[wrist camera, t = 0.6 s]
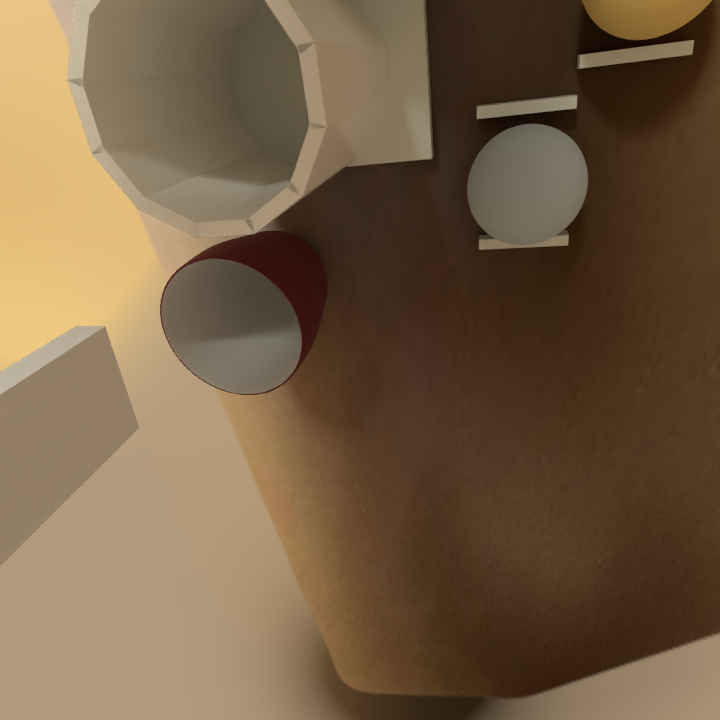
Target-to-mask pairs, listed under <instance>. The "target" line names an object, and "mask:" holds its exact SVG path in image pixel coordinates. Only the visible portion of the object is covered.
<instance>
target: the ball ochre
mask: <svg viewBox="0 0 720 720" xmlns="http://www.w3.org/2000/svg"><path fill="white" fill-rule="evenodd" d="M711 1H712V0H582V2H583V5H584V7H585V9H586V11H587V13H588V14H589V16H590V18H591V19H592V20H593V21H594V22H595V24H596V25H598V26H599V27H600V28H601V29H602V30H604V31H606V32H607V33H609V34H611V35H614V36H616V37H619V38H623V39H628V40H646V39H651V38H656V37H659V36H662V35H665V34H668V33H670V32H672V31H674V30H676V29H678V28H680V27H682V26H683V25H685V24H686V23H688V22H689V21H691V20H692V19H693V18H695V17H696V16H697V15H698V14H699V13H700V12H701V11H703V10H704V9H705V8H706V7H707V6H708V4H709V3H710V2H711Z"/></svg>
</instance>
